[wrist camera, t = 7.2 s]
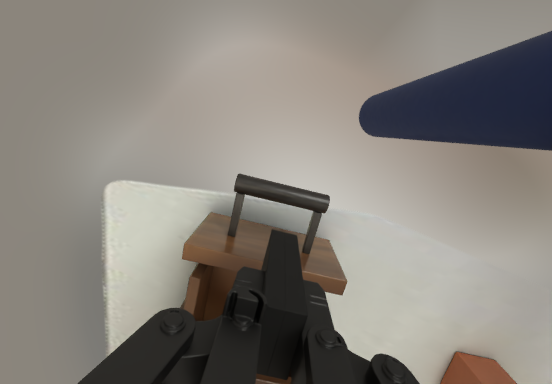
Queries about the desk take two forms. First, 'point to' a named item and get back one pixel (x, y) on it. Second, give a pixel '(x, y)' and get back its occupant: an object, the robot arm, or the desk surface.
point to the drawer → (254, 247)
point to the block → (475, 371)
